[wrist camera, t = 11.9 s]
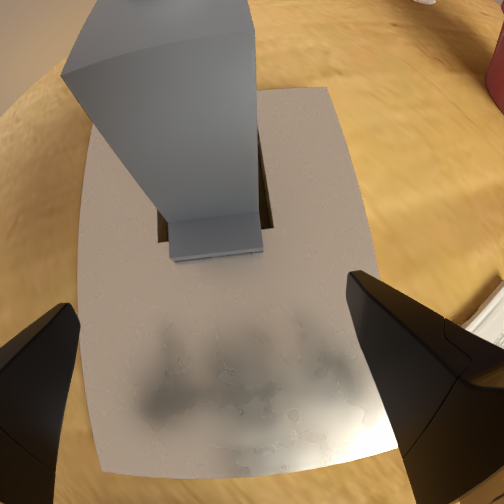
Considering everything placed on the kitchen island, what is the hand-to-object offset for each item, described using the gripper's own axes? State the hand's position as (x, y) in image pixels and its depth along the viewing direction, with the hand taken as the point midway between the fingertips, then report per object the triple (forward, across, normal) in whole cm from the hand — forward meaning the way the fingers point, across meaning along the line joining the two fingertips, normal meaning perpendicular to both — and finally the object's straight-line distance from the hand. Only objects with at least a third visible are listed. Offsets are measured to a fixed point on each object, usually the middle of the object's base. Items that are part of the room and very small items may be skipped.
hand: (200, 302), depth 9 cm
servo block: (+11, 0, 0) cm, 11 cm away
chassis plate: (+7, 0, +4) cm, 8 cm away
